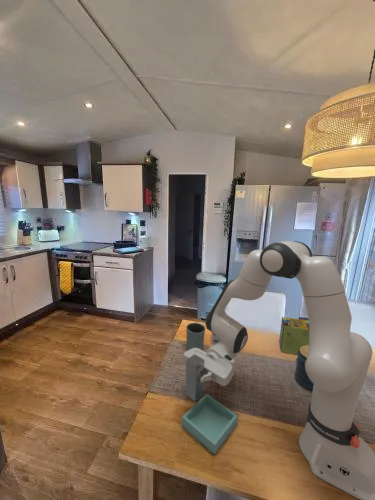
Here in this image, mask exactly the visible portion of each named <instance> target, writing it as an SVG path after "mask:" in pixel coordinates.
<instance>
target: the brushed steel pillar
mask: <svg viewBox="0 0 375 500" xmlns="http://www.w3.org/2000/svg"><path fill="white" fill-rule="evenodd" d="M204 361H205V360H204V359H202V358H200V357H199V356H197V355H195V354H194V355H193V356H191V357H190V358H189V359H187V360H186V363H185V395H186V396H188V397H189V398H190V399H192V401H194V402H197V400H198V399H200V398H201V396H203V395H204V384H205V381H204V382H203V383H201V382H200V381H198V380H199V376H201V375H203V376H204Z"/></svg>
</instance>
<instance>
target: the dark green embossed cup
mask: <svg viewBox="0 0 375 500" xmlns="http://www.w3.org/2000/svg"><path fill="white" fill-rule="evenodd" d="M185 327H186V329H185V330H186V349H187V351H188V350H190V349H192V348H200V349H201V350H203V347H204V341H205V335H206V334H205V333H206V325H203V324H202V323H198V322H191V323H188V324H187V325H186V326H185Z"/></svg>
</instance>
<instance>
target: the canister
mask: <svg viewBox="0 0 375 500" xmlns="http://www.w3.org/2000/svg"><path fill="white" fill-rule="evenodd" d="M308 352H309V345H305V346H302V347H301V348H300V350H299V351H298V353H297V355H296V356H297V357H296V361H295V362H296V364H295V370H294V379H295V381H296V383H297V384H299V385H300V386H301V387H303V388H304V389H305V390H308V391H311V392H313V386H314V384H313V382H312V381H311V380H310V379H309V377H308V375H307V373H306V370H305V362H306V359H307V356H308Z"/></svg>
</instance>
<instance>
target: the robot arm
mask: <svg viewBox="0 0 375 500" xmlns="http://www.w3.org/2000/svg"><path fill="white" fill-rule="evenodd" d="M237 276H238V277H237V278H236V279H232V280H230V281H228V283H227V284H226V285H225V286H224V287H223V289H222V291H221V293H219V296H218V297H217V299H216V301H215V303H214V305H213V307H212V308H211V310H210V311H209V312H208V314H207V315H206V317H205V319H204V322H205V323H204V324H205V329H207V331H209V332H211V333H212V334H213V333H214V334H216V335H217V336H218V337H219V338H221V340H220V341H219V342H218V343H217V344H212V345H211V346H210V347H209V348H208V349H207V350H203V349H202V350H201V349H200V348H192V349H190V350H188V349H187V350H186V351H184V352H183V356H182V359H183V363H185V364H186V360H187V359H189V358H190V357H191V356H193V355H194V354H195V355H197V356H199V357H200V358H202V359H204V360H205V361H204V376H203V375H201V376H199V380H198V381H200V382H201V383H203V382H204V383H205V382H207V381H211V380H212V381H214V382H215V383H217V384H219V385H220V386H222V387H225V386H226V387H227V386H228V384H229V383H230V382H231V381H232V379H233V376H235V372H236V361H235V358H236V357H237V356H238V355H239V354H240V352H241V351H242V350H243V349H244V348H245V346H246V344H247V342H248V338H249V334H248V330H247V328H246V327H245V325H243V324H242V323H240V322H239V321H237V320H236V319H235V318H233V317H231V316H230V315H229V314H227V312H226V311H225V310H226V308H227V306H228V305H229V303H230V301H231V300H232V299H240V300H242V301H255V300H258V299H260V298H262V297H263V296H264V295H265V293H266V291H267V289H268V287H269V285H270V282H271V279H272V277H277V278H278V277H279V278H285V279H296V280H297V281H298V282H299V285H300V287H301V291H302V296H303V301H304V305H305V308H306V309H305V310H306V314H307V318H308V319H307V320H308V321H309V352H308V356H307V359H306V362H305V370H306V373H307V375H308V377H309V379H310V380H311V381H312V382H313V384H314V386H313V391H311V392H312V393H311V400H310V403H309V404H308V406H307V411H306V412H307V413H306V424H305V426H304V429H303V431H302V432H301V433H300V436H299V440H298V441H299V449H300V450H301V452H302V454H303V456H304V458H306V460H307V461H308V463H309V466H310V469H311V471H312V473H313V475H314V476H315V477H317V478H318V479H320V480H322V481H324V482H326V483H328V484H331V485H332V486H334V487H336V488H338V489H340V490H341V491H343V492H345V493H347V494H349V495H351V496H353V497H354V498H356V499H358V500H375V452H374V450H373V449H372V447H370V445H369V444H367V442H366V441H365V440H364V439H363V438H362V437H361V436H360V423H359V422H357V425H356V424H355V423H354V422H353V421H354V416H355V411H356V407H357V403H358V401H359V396H360V393H361V391H362V388H363V385H364V384H365V379H366V377H367V373H368V370H369V368H370V367H369V366H370V363H371V360H372V357H373V349H372V346H371V345H372V344H370V342H369V341H368V339H366V338H365V337H364V336H363V335H361V334H359V333H356V332H355V331H354V332H353V331H351V326H352V320H353V319H352V313H351V310H350V306H349V301H348V298H347V294H346V291H345V286H344V284H343V281H342V278H341V275H340V274H339V271H338V269H337V267H336V265H335V263H334V261H333V260H332V259H330V258H328V257H326V256H322V255H321V256H320V255H317V256H313V252H312V250H311V248H310V246H309V245H307V244H306V243H304V242H302V241H297V240H293V241H292V240H291V241H290V240H282V241H278V242H272V243H270V244H269V245H267V246H266V247H264V248H263V249H254V250H252V251H251V252H249V254H248V255H247V257H246V259H245V261H244V262H243V264H242V267H241V269H240V272H239V274H238V275H237Z"/></svg>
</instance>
